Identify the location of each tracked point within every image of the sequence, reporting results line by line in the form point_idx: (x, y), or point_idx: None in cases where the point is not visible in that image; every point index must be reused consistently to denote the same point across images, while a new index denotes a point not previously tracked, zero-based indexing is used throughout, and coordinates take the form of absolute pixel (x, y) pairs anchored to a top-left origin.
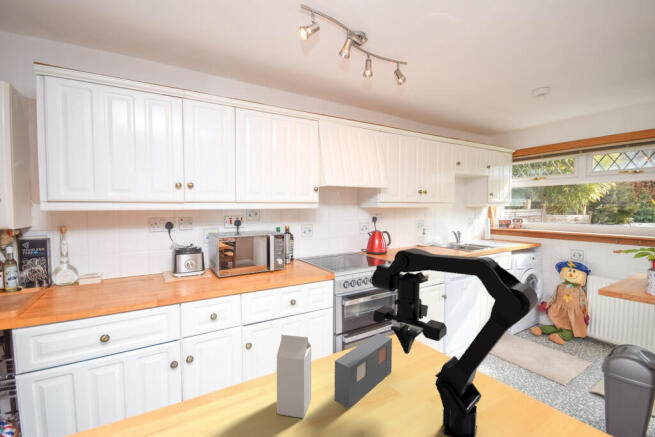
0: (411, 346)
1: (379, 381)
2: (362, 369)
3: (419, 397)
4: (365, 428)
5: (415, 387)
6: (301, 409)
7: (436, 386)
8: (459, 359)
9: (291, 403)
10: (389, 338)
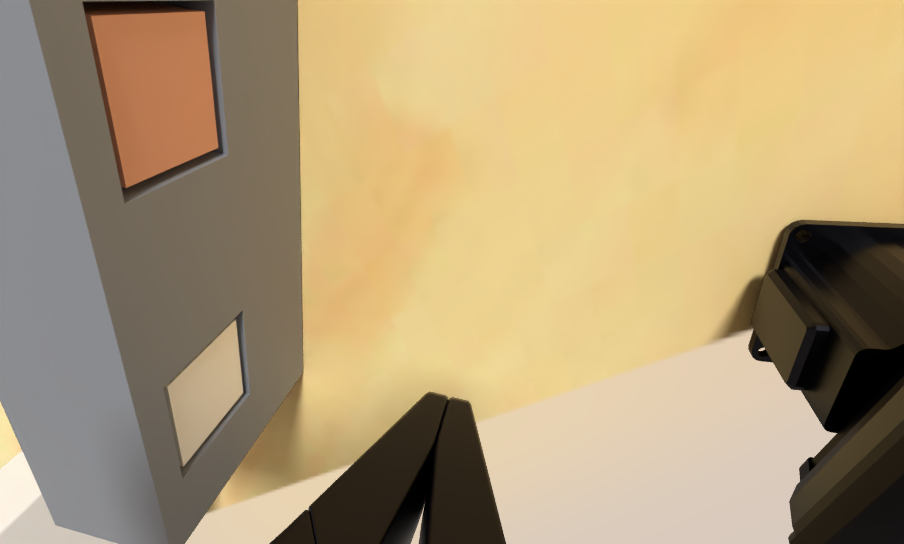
0: (487, 487)
1: (294, 107)
2: (203, 387)
3: (586, 117)
4: None
5: (536, 6)
6: None
7: (791, 515)
8: None
9: None
10: None
